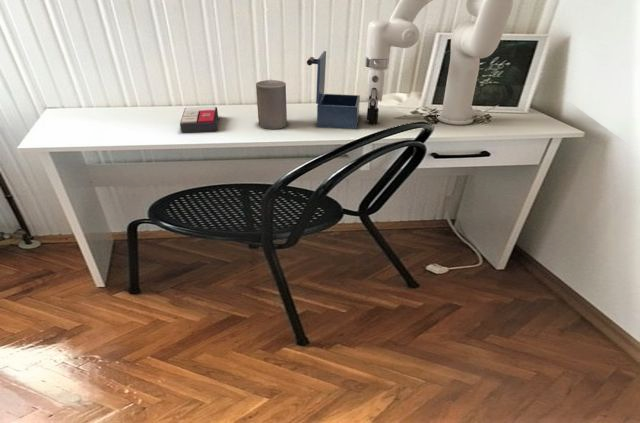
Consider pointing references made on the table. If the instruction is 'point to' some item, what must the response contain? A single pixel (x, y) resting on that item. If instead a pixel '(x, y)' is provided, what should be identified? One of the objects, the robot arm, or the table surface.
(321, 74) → the lid
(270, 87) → the pillar candle
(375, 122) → the socket
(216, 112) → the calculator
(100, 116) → the table surface
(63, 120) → the table surface
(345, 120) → the case
